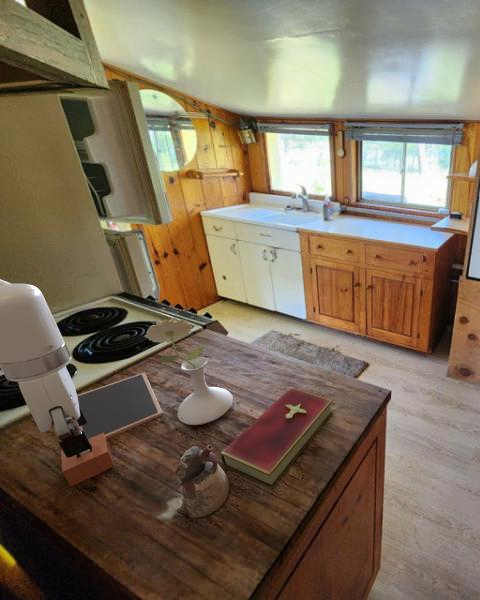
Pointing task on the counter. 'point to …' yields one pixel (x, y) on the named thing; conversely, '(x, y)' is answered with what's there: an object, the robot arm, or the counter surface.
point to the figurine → (202, 481)
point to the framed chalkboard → (118, 406)
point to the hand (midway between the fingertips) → (77, 438)
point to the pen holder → (88, 461)
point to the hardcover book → (277, 437)
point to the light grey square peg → (73, 428)
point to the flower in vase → (192, 376)
